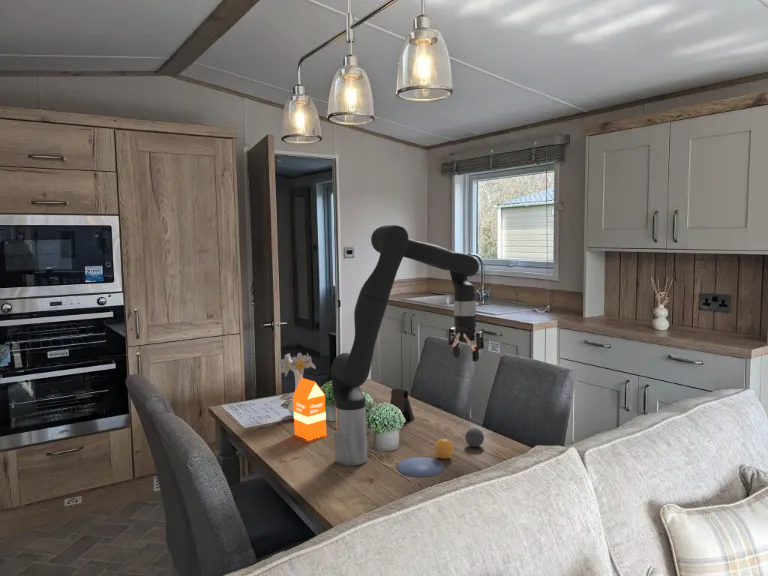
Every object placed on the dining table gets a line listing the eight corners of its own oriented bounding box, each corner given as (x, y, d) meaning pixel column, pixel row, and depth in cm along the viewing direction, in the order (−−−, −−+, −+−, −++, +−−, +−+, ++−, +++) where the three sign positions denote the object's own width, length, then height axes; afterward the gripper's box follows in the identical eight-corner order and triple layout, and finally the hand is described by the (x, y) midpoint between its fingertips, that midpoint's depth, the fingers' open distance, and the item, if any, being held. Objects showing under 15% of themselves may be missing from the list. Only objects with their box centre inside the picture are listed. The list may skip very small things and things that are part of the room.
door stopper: (397, 425, 203) (397, 393, 202) (386, 422, 208) (385, 390, 206) (414, 419, 210) (413, 388, 209) (402, 416, 214) (401, 385, 213)
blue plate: (419, 481, 156) (419, 480, 156) (387, 466, 167) (387, 465, 167) (453, 467, 165) (453, 466, 165) (421, 454, 176) (421, 453, 176)
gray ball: (475, 451, 177) (475, 433, 177) (461, 446, 182) (461, 428, 181) (487, 446, 181) (487, 428, 180) (474, 441, 185) (473, 424, 185)
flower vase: (298, 407, 229) (295, 347, 227) (326, 416, 216) (324, 353, 214) (271, 414, 220) (268, 352, 218) (298, 425, 207) (296, 359, 204)
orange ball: (444, 463, 168) (443, 444, 168) (430, 457, 173) (430, 439, 172) (458, 458, 172) (457, 439, 172) (444, 452, 177) (443, 434, 176)
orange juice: (308, 441, 190) (305, 384, 188) (294, 435, 197) (291, 379, 195) (327, 435, 195) (324, 379, 193) (312, 429, 202) (310, 375, 200)
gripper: (442, 312, 196) (443, 358, 197) (473, 316, 185) (474, 364, 187) (457, 310, 201) (457, 354, 202) (488, 313, 190) (488, 360, 191)
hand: (465, 359), depth 194 cm, fingers open, 8 cm apart
